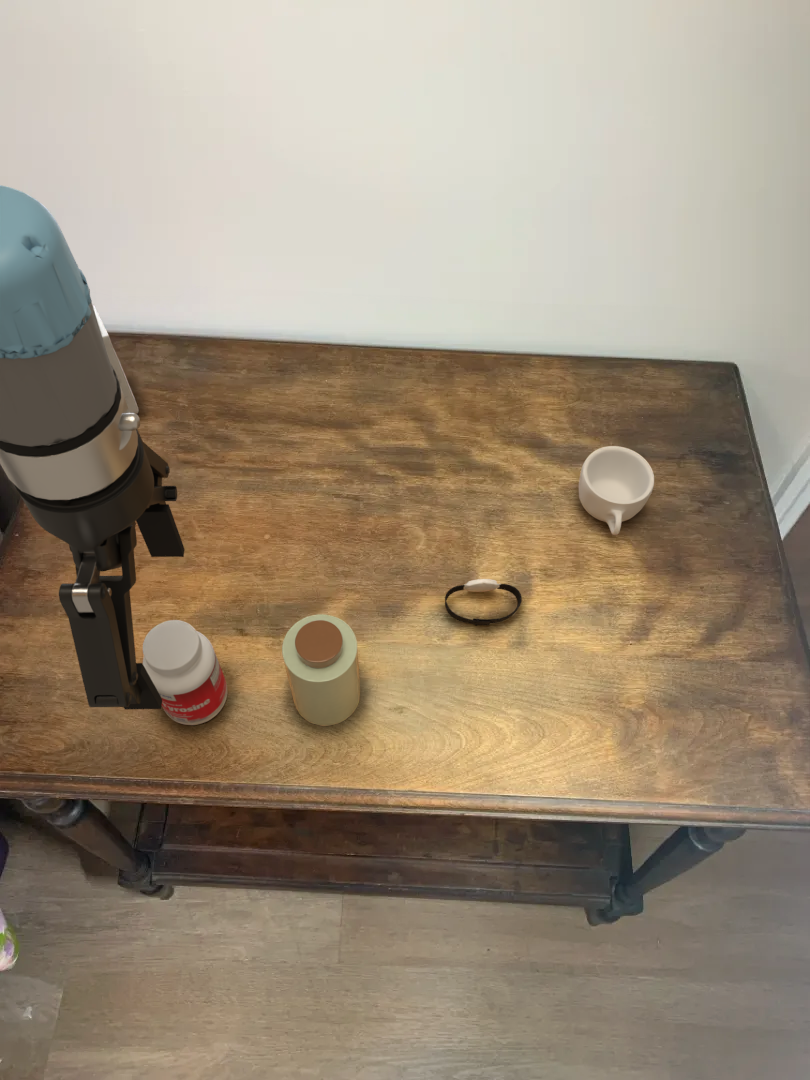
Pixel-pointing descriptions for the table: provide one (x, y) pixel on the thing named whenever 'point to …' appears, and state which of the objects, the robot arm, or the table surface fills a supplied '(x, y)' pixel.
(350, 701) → the canister
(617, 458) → the teacup
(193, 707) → the pill bottle
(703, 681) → the table surface
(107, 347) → the cosmetic box
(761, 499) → the table surface
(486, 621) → the watch
